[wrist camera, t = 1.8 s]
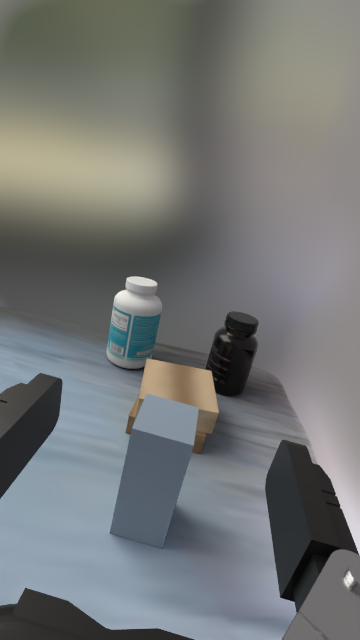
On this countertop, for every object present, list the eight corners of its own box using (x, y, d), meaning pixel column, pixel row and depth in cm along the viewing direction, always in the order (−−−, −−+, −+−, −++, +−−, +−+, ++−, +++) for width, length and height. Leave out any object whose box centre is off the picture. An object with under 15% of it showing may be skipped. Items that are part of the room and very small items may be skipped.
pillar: (109, 532, 27) (131, 428, 23) (125, 488, 31) (146, 393, 27) (162, 548, 26) (193, 445, 23) (170, 501, 31) (198, 407, 27)
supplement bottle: (220, 369, 57) (240, 307, 53) (251, 390, 53) (275, 324, 48) (193, 377, 52) (212, 309, 48) (224, 402, 48) (248, 329, 44)
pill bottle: (152, 353, 57) (168, 280, 52) (147, 375, 50) (165, 293, 45) (110, 344, 57) (123, 270, 52) (100, 365, 50) (113, 281, 45)
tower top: (134, 420, 36) (139, 398, 35) (142, 377, 45) (146, 358, 44) (212, 433, 37) (219, 412, 36) (205, 388, 45) (211, 370, 44)
